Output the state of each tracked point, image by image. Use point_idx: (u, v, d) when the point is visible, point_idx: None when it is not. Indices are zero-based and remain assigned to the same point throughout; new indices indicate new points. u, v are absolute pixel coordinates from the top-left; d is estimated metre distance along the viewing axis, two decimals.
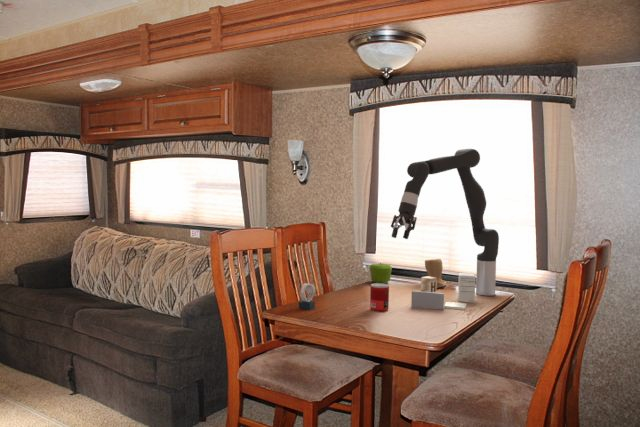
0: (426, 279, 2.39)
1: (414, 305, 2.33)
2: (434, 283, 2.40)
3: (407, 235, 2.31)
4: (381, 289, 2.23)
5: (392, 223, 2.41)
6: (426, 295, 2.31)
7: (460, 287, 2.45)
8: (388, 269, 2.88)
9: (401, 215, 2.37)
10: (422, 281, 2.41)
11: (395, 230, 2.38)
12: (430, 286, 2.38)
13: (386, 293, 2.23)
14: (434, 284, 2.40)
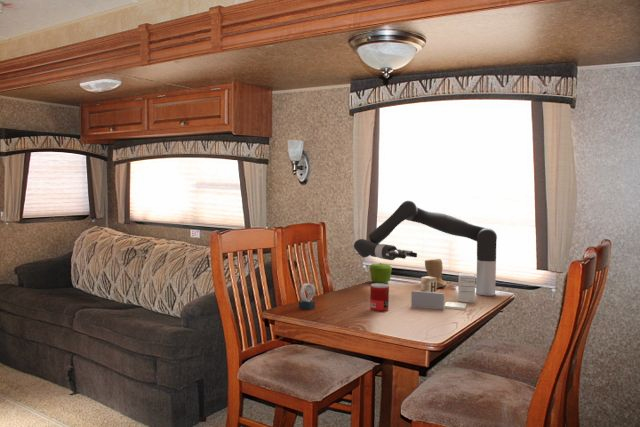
0: (426, 279, 2.39)
1: (414, 305, 2.33)
2: (434, 283, 2.40)
3: (401, 255, 2.51)
4: (381, 289, 2.23)
5: None
6: (426, 295, 2.31)
7: (460, 287, 2.45)
8: (388, 269, 2.88)
9: None
10: (422, 281, 2.41)
11: (410, 255, 2.58)
12: (430, 286, 2.38)
13: (386, 293, 2.23)
14: (434, 284, 2.40)
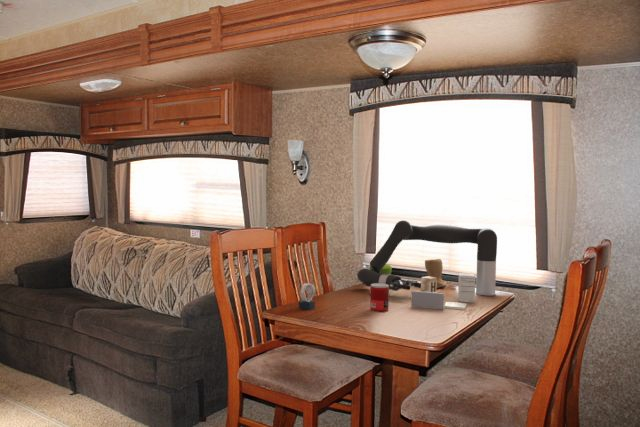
0: (426, 279, 2.39)
1: (414, 305, 2.33)
2: (434, 283, 2.40)
3: None
4: (381, 289, 2.23)
5: (414, 285, 2.56)
6: (426, 295, 2.31)
7: (460, 287, 2.45)
8: (388, 269, 2.88)
9: None
10: (422, 281, 2.41)
11: (415, 285, 2.52)
12: (430, 286, 2.38)
13: (386, 293, 2.23)
14: (434, 284, 2.40)
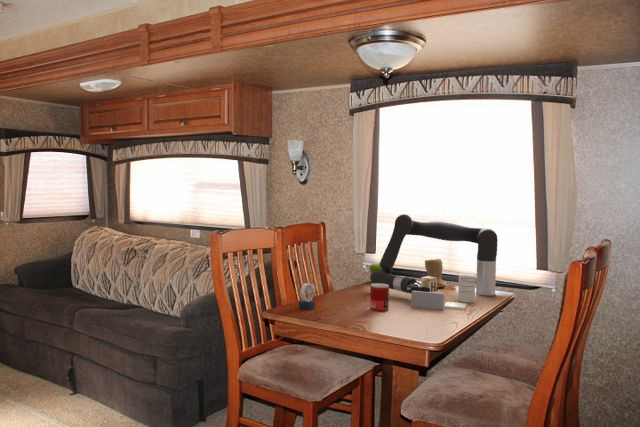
0: (426, 279, 2.39)
1: (414, 305, 2.33)
2: (434, 283, 2.40)
3: (425, 289, 2.38)
4: (381, 289, 2.23)
5: None
6: (426, 295, 2.31)
7: (460, 287, 2.45)
8: None
9: None
10: (422, 281, 2.41)
11: None
12: (430, 286, 2.38)
13: (386, 293, 2.23)
14: (434, 284, 2.40)
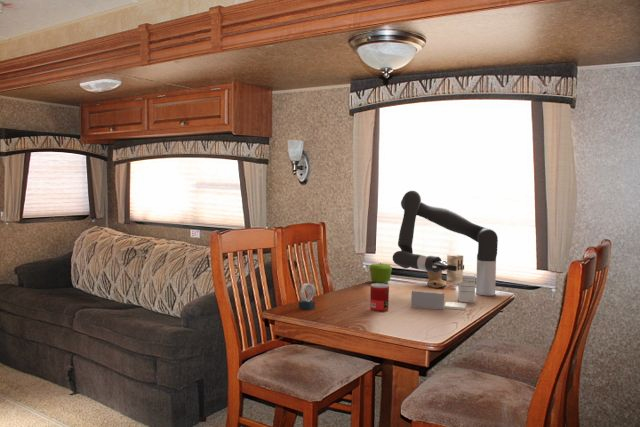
0: (452, 257, 2.32)
1: (414, 305, 2.33)
2: (461, 261, 2.32)
3: (452, 267, 2.31)
4: (381, 289, 2.23)
5: None
6: (426, 295, 2.31)
7: (460, 287, 2.45)
8: (388, 269, 2.88)
9: None
10: (448, 259, 2.34)
11: None
12: (457, 264, 2.31)
13: (386, 293, 2.23)
14: (461, 262, 2.32)
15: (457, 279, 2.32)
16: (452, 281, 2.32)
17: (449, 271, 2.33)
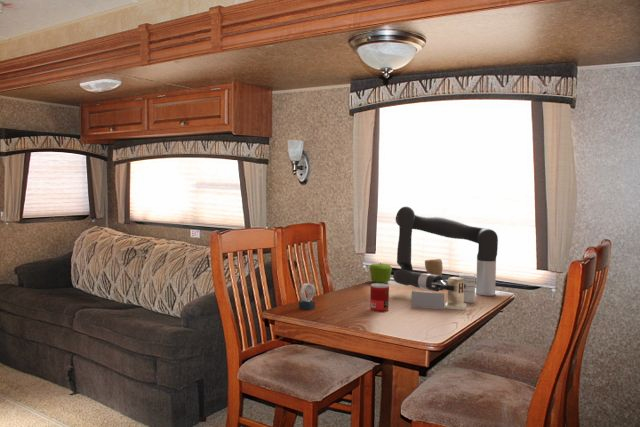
0: (453, 280, 2.32)
1: (414, 305, 2.33)
2: (462, 284, 2.32)
3: (449, 287, 2.31)
4: (381, 289, 2.23)
5: None
6: (426, 295, 2.31)
7: None
8: (388, 269, 2.88)
9: None
10: (449, 282, 2.34)
11: None
12: (458, 287, 2.31)
13: (386, 293, 2.23)
14: (462, 285, 2.33)
15: (458, 302, 2.32)
16: (453, 304, 2.32)
17: (450, 294, 2.33)
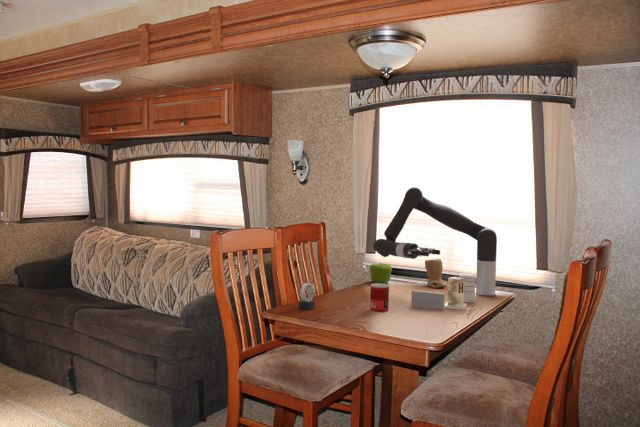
0: (453, 280, 2.32)
1: (414, 305, 2.33)
2: (462, 284, 2.32)
3: (424, 253, 2.43)
4: (381, 289, 2.23)
5: None
6: (426, 295, 2.31)
7: None
8: (388, 269, 2.88)
9: None
10: (449, 282, 2.34)
11: (433, 252, 2.50)
12: (458, 287, 2.31)
13: (386, 293, 2.23)
14: (462, 285, 2.33)
15: (458, 302, 2.32)
16: (453, 304, 2.32)
17: (450, 294, 2.33)
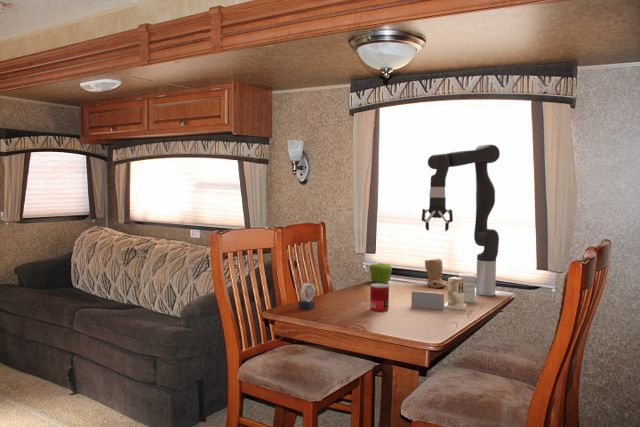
0: (453, 280, 2.32)
1: (414, 305, 2.33)
2: (462, 284, 2.32)
3: None
4: (381, 289, 2.23)
5: (423, 217, 2.49)
6: (426, 295, 2.31)
7: None
8: (388, 269, 2.88)
9: (433, 209, 2.47)
10: (449, 282, 2.34)
11: (428, 223, 2.49)
12: (458, 287, 2.31)
13: (386, 293, 2.23)
14: (462, 285, 2.33)
15: (458, 302, 2.32)
16: (453, 304, 2.32)
17: (450, 294, 2.33)
